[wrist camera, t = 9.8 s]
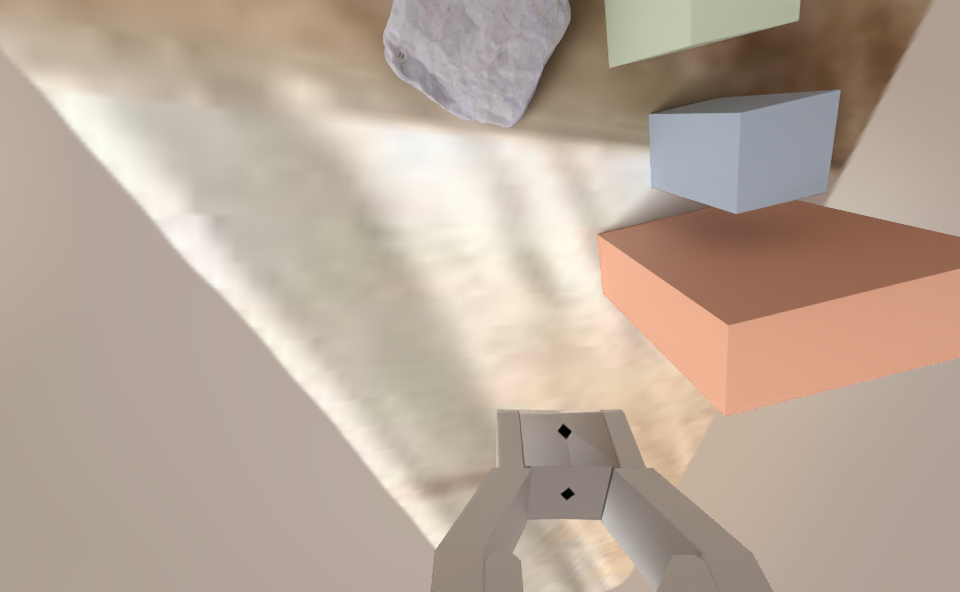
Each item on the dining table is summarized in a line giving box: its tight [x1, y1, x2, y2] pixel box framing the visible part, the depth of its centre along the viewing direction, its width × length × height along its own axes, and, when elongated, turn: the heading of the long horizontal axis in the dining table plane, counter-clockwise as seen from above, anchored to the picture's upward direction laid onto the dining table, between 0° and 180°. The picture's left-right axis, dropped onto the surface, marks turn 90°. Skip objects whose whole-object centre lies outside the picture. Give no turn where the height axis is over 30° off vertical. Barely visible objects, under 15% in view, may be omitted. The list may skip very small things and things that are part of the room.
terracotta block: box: [597, 200, 960, 416], centre depth 31 cm, size 6×16×18 cm, turn 102°
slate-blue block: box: [649, 89, 841, 214], centre depth 30 cm, size 6×6×11 cm
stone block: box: [383, 0, 571, 128], centre depth 29 cm, size 12×5×10 cm
